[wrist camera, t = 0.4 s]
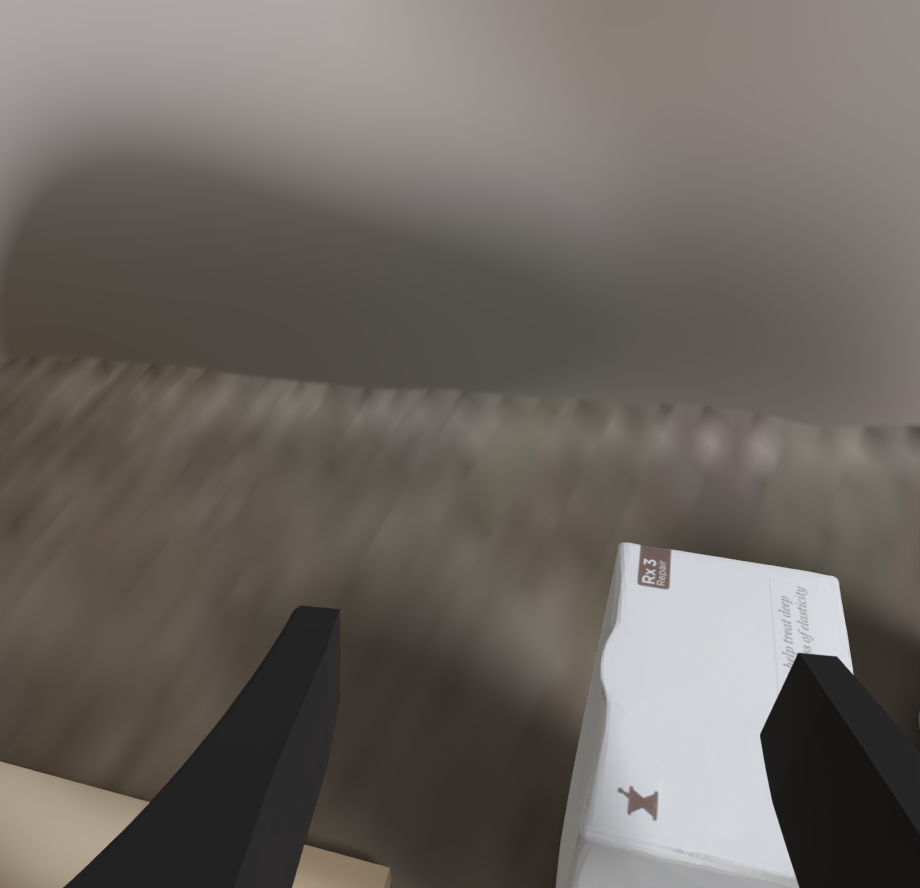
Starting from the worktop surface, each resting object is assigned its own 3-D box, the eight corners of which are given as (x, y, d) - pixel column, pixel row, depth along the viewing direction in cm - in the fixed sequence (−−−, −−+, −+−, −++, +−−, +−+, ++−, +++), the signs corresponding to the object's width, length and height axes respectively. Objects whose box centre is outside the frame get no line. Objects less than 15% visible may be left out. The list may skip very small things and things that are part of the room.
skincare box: (721, 1091, 24) (917, 938, 14) (526, 1031, 25) (573, 849, 15) (722, 815, 30) (858, 569, 20) (564, 777, 31) (618, 525, 21)
